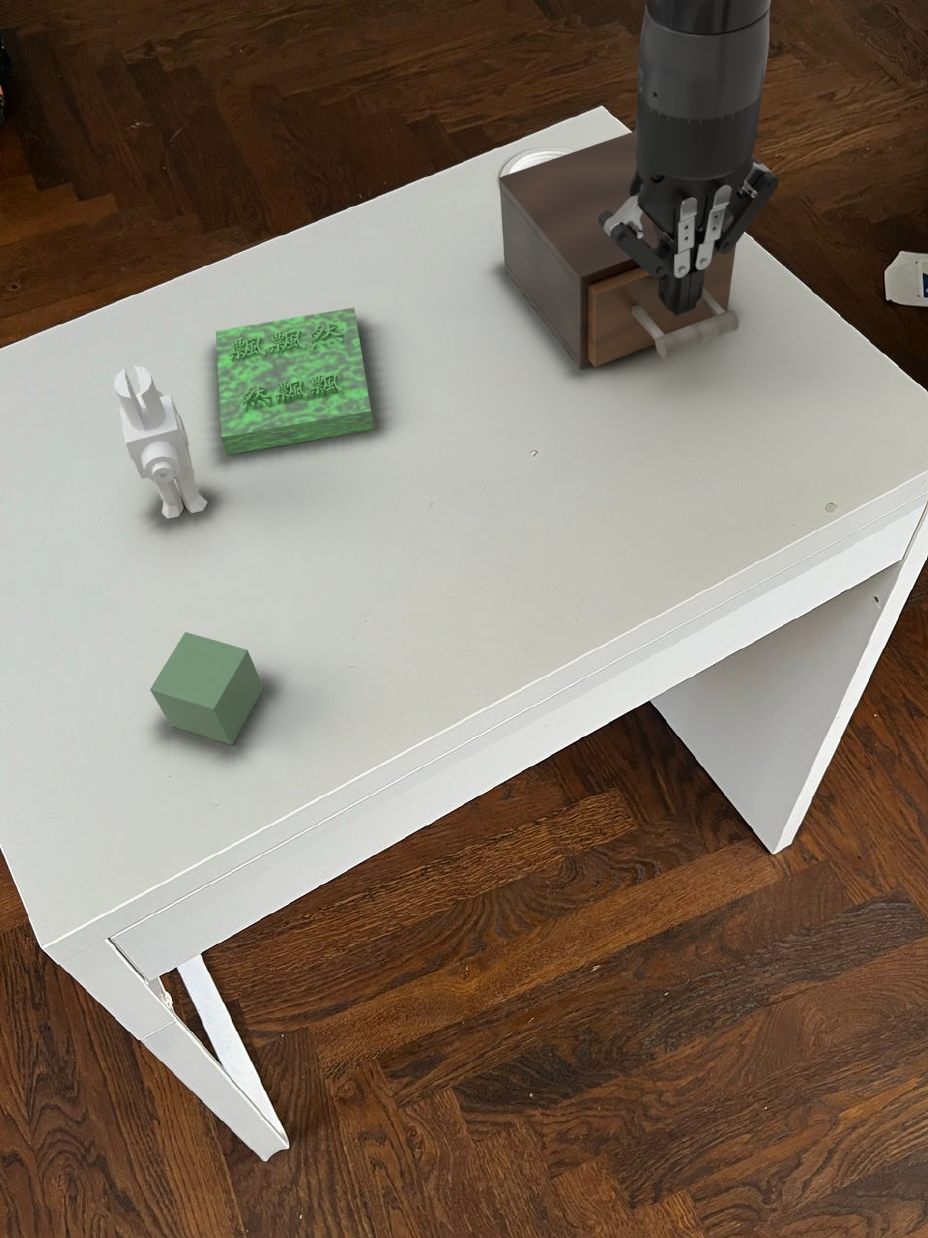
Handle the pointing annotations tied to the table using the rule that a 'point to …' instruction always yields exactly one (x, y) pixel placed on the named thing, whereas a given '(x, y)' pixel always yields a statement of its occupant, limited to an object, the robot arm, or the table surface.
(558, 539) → the table surface
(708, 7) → the robot arm
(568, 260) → the cabinet
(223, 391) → the green jade tablet
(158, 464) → the toy robot
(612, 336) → the drawer
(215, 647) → the block
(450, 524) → the table surface
